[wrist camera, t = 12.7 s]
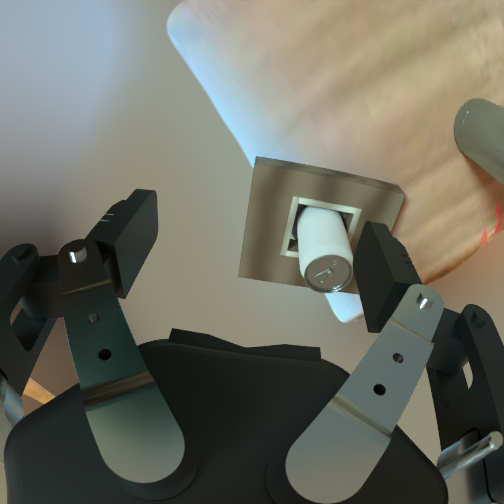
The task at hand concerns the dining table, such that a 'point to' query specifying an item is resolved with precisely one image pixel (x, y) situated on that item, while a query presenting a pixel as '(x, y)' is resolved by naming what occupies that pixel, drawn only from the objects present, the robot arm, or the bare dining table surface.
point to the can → (324, 249)
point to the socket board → (314, 194)
